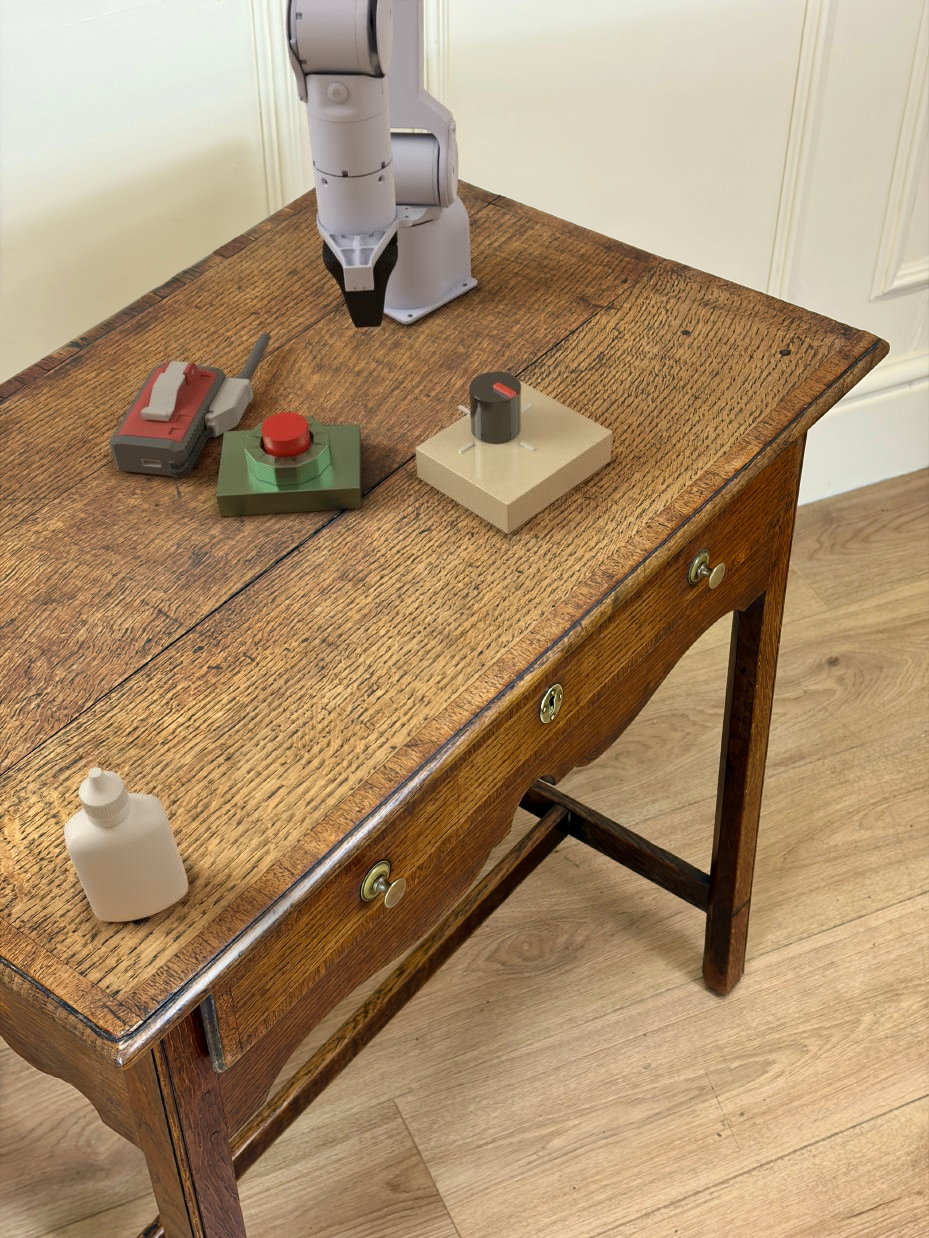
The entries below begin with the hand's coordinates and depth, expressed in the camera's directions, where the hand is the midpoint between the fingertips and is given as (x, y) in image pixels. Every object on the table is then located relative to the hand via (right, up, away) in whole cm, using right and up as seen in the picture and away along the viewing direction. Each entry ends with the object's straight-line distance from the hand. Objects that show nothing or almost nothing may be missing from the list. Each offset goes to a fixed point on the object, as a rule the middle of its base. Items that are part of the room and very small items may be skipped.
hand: (367, 322), depth 102 cm
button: (-6, -10, -1) cm, 12 cm away
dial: (+10, -8, 0) cm, 13 cm away
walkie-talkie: (-15, -6, +8) cm, 18 cm away
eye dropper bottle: (-12, -40, -25) cm, 48 cm away
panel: (+12, -11, +2) cm, 16 cm away
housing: (-6, -12, +1) cm, 14 cm away
